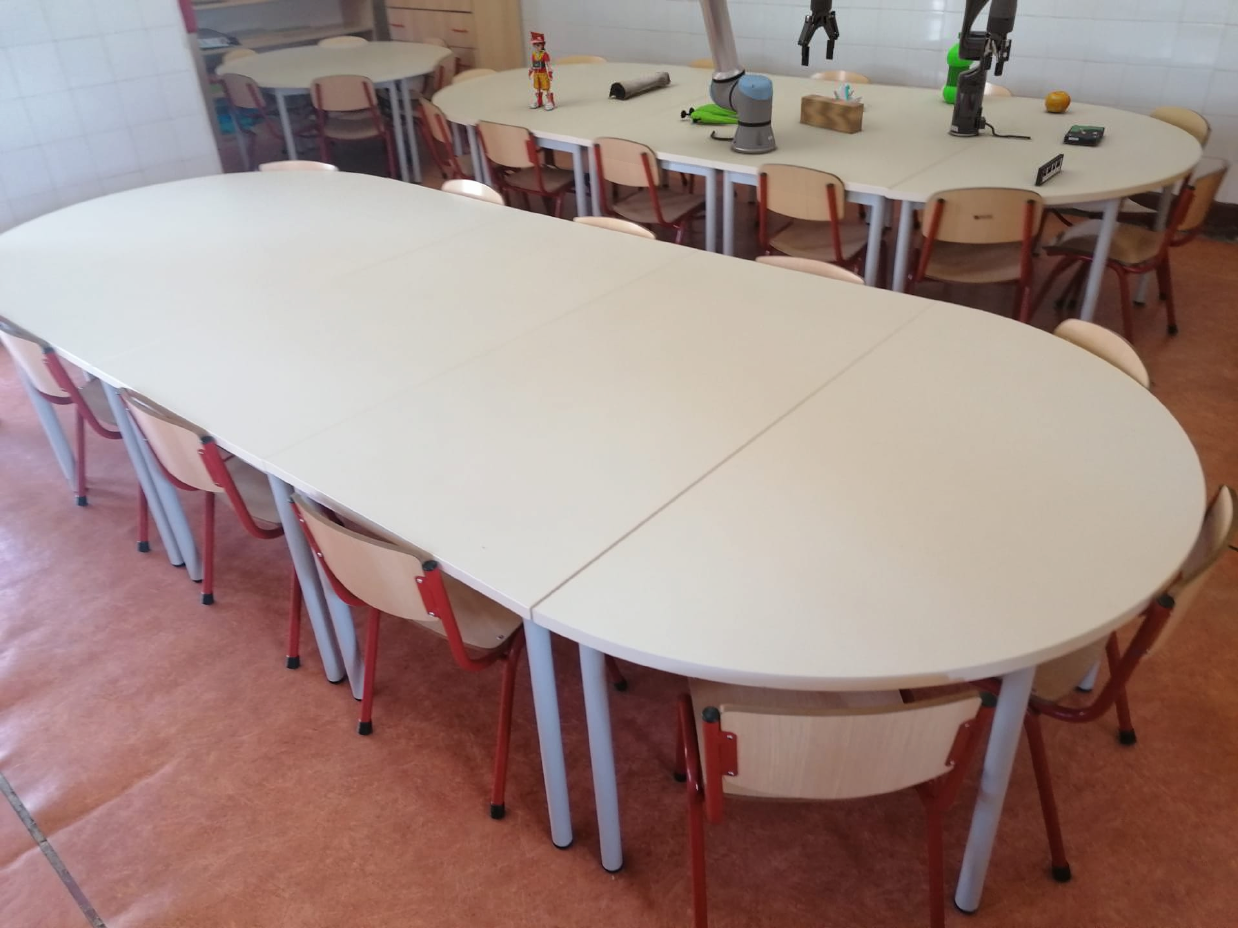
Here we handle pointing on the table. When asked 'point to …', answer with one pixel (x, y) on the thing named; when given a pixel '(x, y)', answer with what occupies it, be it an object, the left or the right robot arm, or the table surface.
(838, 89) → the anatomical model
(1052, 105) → the fruit
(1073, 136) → the disk drive
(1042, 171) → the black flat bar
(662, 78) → the rolled mat
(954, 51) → the plastic bottle
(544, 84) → the toy
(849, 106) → the box
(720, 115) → the toy
